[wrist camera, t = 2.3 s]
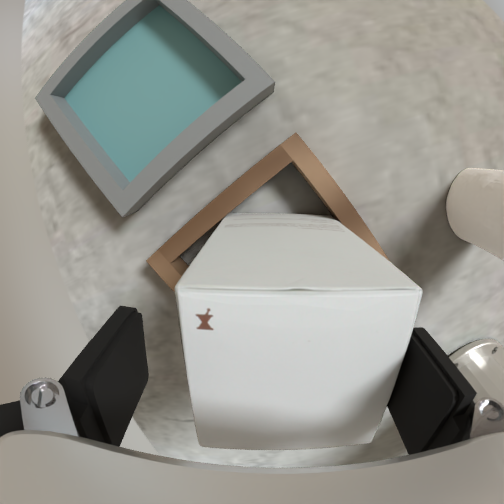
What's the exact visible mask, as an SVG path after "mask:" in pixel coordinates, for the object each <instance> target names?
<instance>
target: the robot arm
mask: <svg viewBox="0 0 504 504" xmlns="http://www.w3.org/2000/svg"><path fill="white" fill-rule="evenodd" d="M147 381H148V366H147V358H146V350H145V341H144V331H143V320H142V314H141V313H138V312H137V309H136V308H132V307H125V306H120V307H118V309H117V310H116V311H115V312H114V313H113V315H112V316H111V317H110V318H109V319H108V320H107V322H106V323H105V324H104V325H103V326H102V328H101V329H100V330H99V331H98V332H97V334H96V335H95V336H94V337H93V339H91V340H90V342H89V343H88V344H87V345H86V347H85V348H84V349H83V350H82V352H81V353H80V354H79V355H78V357H77V358H76V359H75V361H74V362H73V363H72V364H71V365H70V367H69V368H68V369H67V371H66V372H65V373H64V374H63V376H62V377H61V378H60V380H59V381H56V380H53V379H51V378H38V379H34V380H32V381H30V382H28V383H27V384H26V385H25V386H24V387H23V388H22V391H21V392H20V401H16V402H11V403H7V404H3V405H0V504H504V347H503V346H502V345H501V344H500V343H499V342H497V341H496V340H493V339H481V340H478V341H474V342H472V343H470V344H468V345H466V346H464V347H463V348H461V349H459V350H458V351H456V352H455V353H454V354H452V355H451V356H450V357H448V356H447V355H446V353H445V352H444V351H443V350H442V349H441V347H440V346H439V345H438V344H437V343H436V341H435V340H434V339H433V338H432V337H431V336H430V334H429V333H428V332H427V331H426V330H425V329H424V328H413V331H412V334H411V338H410V341H409V344H408V347H407V350H406V353H405V356H404V359H403V362H402V365H401V368H400V370H399V373H398V376H397V380H396V382H395V385H394V388H393V391H392V394H391V396H390V399H389V402H388V404H387V406H388V409H389V411H390V413H391V415H392V417H393V420H394V422H395V424H396V426H397V429H398V431H399V433H400V436H401V438H402V440H403V442H404V445H405V447H406V449H407V452H408V454H409V455H406V456H401V457H396V458H391V459H385V460H379V461H372V462H365V463H357V464H348V465H338V466H325V467H305V468H262V467H241V466H228V465H218V464H209V463H201V462H193V461H187V460H180V459H174V458H169V457H164V456H158V455H153V454H148V453H143V452H139V451H134V450H130V449H126V448H122V447H119V446H120V444H121V442H122V439H123V437H124V434H125V432H126V430H127V427H128V425H129V423H130V420H131V418H132V416H133V413H134V411H135V409H136V406H137V404H138V402H139V399H140V397H141V395H142V393H143V390H144V388H145V386H146V384H147Z"/></svg>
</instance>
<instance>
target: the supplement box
mask: <svg viewBox="0 0 504 504" xmlns="http://www.w3.org/2000/svg"><path fill="white" fill-rule="evenodd" d="M175 296H176V303H177V311H178V319H179V326H180V334H181V341H182V348H183V354H184V361H185V367H186V373H187V379H188V385H189V392H190V398H191V404H192V410H193V415H194V421H195V427H196V432H197V437H198V441H199V445H200V446H202V447H210V448H224V449H245V450H298V449H317V448H330V447H340V446H350V445H358V444H366V443H371V442H372V440H373V438H374V435H375V433H376V431H377V429H378V426H379V424H380V422H381V419H382V417H383V414H384V412H385V409H386V407H387V404H388V402H389V399H390V396H391V394H392V391H393V388H394V385H395V382H396V380H397V376H398V373H399V370H400V368H401V365H402V362H403V359H404V356H405V353H406V350H407V347H408V344H409V341H410V338H411V334H412V331H413V328H414V324H415V320H416V317H417V313H418V309H419V305H420V301H421V298H422V289H421V288H420V287H419V286H418V285H417V284H416V283H414V282H413V281H412V280H411V279H410V278H409V277H408V276H407V275H405V274H404V273H403V272H402V271H400V270H399V269H398V268H397V267H396V266H394V265H393V264H392V263H391V262H390V261H388V260H387V259H386V258H385V257H383V256H382V255H381V254H380V253H378V252H377V251H376V250H375V249H374V248H372V247H371V246H370V245H368V244H367V243H366V242H365V241H363V240H362V239H361V238H359V237H358V236H357V235H355V234H354V233H353V232H352V231H350V230H349V229H348V228H346V227H345V226H344V225H342V224H341V223H340V222H339V221H337V220H336V219H335V218H333V217H332V216H329V215H314V214H281V213H228V214H227V215H226V216H225V217H224V218H223V220H222V221H221V223H220V224H219V225H218V227H217V228H216V229H215V231H214V232H213V233H212V235H211V236H210V237H209V239H208V240H207V242H206V243H205V245H204V246H203V247H202V249H201V250H200V252H199V253H198V254H197V256H196V257H195V258H194V260H193V261H192V263H191V264H190V266H189V267H188V268H187V270H186V271H185V273H184V274H183V275H182V277H181V278H180V280H179V281H178V283H177V284H176V286H175Z"/></svg>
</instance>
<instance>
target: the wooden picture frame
mask: <svg viewBox="0 0 504 504" xmlns="http://www.w3.org/2000/svg"><path fill="white" fill-rule="evenodd" d="M291 162H292V164H293V165H294V166H295V167H296V169H297V170H298V171H299V172H300V174H301V175H302V176H303V177H304V179H305V180H306V181H307V182H308V184H309V185H310V186H311V187H312V189H313V190H314V191H315V193H316V194H317V195H318V196H319V198H320V199H321V200H322V202H323V203H324V204H325V206H326V207H327V208H328V210H329V211H330V212H331V214H332V215H333V216H334V218H335V219H336V220H337V221H339V222H340V223H341V224H342V225H344V226H345V227H346V228H348V229H349V230H350V231H352V232H353V233H354V234H355V235H357V236H358V237H359V238H361V239H362V240H363V241H365V242H366V243H367V244H368V245H370V246H371V247H372V248H374V249H375V250H376V251H377V252H378V253H380V254H381V255H382V256H383V257H385V258H386V259H387V260H388V261H389V259H388V258H387V256H386V254H385V253H384V251H383V250H382V248H381V247H380V245H379V244H378V242H377V241H376V239H375V238H374V236H373V234H372V233H371V231H370V230H369V229H368V227H367V226H366V224H365V223H364V221H363V220H362V218H361V217H360V215H359V214H358V213H357V211H356V210H355V208H354V207H353V205H352V204H351V203H350V201H349V200H348V198H347V197H346V196H345V194H344V193H343V192H342V190H341V189H340V187H339V186H338V185H337V183H336V182H335V181H334V179H333V178H332V177H331V176H330V174H329V173H328V172H327V170H326V169H325V168H324V166H323V165H322V164H321V163H320V161H319V160H318V159H317V157H316V156H315V155H314V154H313V152H312V151H311V150H310V149H309V148H308V146H307V145H306V144H305V143H304V141H303V140H302V139H301V138H300V137H299V135H298V134H297V133H295V134H293V135H292V136H291V137H289V138H288V139H287V140H286V141H284V142H283V143H282V144H280V145H279V146H278V147H277V148H275V149H274V150H273V151H272V152H270V153H269V154H268V155H267V156H265V157H264V158H263V159H262V160H260V161H259V162H258V163H257V164H255V165H254V166H253V167H252V168H251V169H249V170H248V171H247V172H246V173H244V174H243V175H242V176H241V177H240V178H238V179H237V180H236V181H235V182H234V183H232V184H231V185H230V186H229V187H228V188H227V189H225V190H224V191H223V192H222V193H221V194H220V195H218V196H217V197H216V198H215V199H214V200H213V201H211V202H210V203H209V204H208V205H207V206H206V207H205V208H203V209H202V210H201V211H200V212H199V213H198V214H197V215H195V216H194V217H193V218H192V219H191V220H190V221H189V222H188V223H186V224H185V225H184V226H183V227H182V228H181V229H180V230H179V231H178V232H177V233H175V234H174V235H173V236H172V237H171V238H170V239H169V240H168V241H167V242H166V243H165V244H163V245H162V246H161V247H160V248H159V249H158V250H157V251H156V252H155V253H154V254H153V255H152V256H151V257H150V258H149V259H147V260H146V261H147V263H148V264H149V265H150V266H151V267H152V268H153V269H154V270H155V272H156V273H157V274H158V275H159V276H160V277H161V278H162V279H163V280H164V282H165V283H166V284H167V285H168V286H169V287H170V288H171V289H172V290H173V291H174V292H175V286H176V284H177V283H178V281H179V280H180V278H181V277H182V275H183V274H184V273H185V271H186V270H187V268H188V267H189V266H188V265H187V264H186V263H185V262H184V261H183V259H182V258H181V257H180V256H179V255H180V254H182V253H183V252H184V251H185V250H186V249H187V248H188V247H190V246H191V245H192V244H193V243H194V242H195V241H196V240H198V239H199V238H200V237H201V236H202V235H203V234H205V233H206V232H207V231H208V230H209V229H210V228H212V227H213V226H214V225H215V224H216V223H217V222H219V221H220V220H221V219H222V218H223V217H225V216H226V215H227V214H228V213H229V212H230V211H232V210H233V209H234V208H235V207H236V206H238V205H239V204H240V203H241V202H242V201H244V200H245V199H246V198H247V197H249V196H250V195H251V194H252V193H253V192H255V191H256V190H257V189H258V188H260V187H261V186H262V185H263V184H264V183H266V182H267V181H268V180H269V179H271V178H272V177H273V176H274V175H276V174H277V173H278V172H279V171H281V170H282V169H283V168H284V167H286V166H287V165H288V164H289V163H291Z"/></svg>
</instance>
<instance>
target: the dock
mask: <svg viewBox="0 0 504 504" xmlns="http://www.w3.org/2000/svg"><path fill="white" fill-rule="evenodd" d="M274 86H275V81H274V80H273V79H272V78H271V77H270V76H269V75H268V74H267V73H266V72H265V71H264V70H263V69H262V68H261V66H260V65H259V64H258V63H257V62H256V61H255V60H254V59H253V58H252V57H251V56H249V55H248V54H247V53H246V52H245V51H244V50H243V49H242V48H241V47H240V46H239V45H238V44H237V43H236V42H235V41H234V40H233V39H232V38H231V37H229V36H228V35H227V34H226V33H225V32H224V31H223V30H222V29H221V28H220V27H218V26H217V25H216V24H215V23H214V22H213V21H212V20H210V19H209V18H208V17H207V16H206V15H204V14H203V13H202V12H201V11H200V10H198V9H197V8H196V7H195V6H194V5H192V4H191V3H190V2H189V1H187V0H126V1H124V2H123V3H122V4H121V5H120V6H118V7H117V8H116V9H115V10H114V11H113V12H112V13H111V14H109V15H108V16H107V17H106V18H105V19H104V20H103V21H102V22H101V23H100V24H99V25H98V26H97V27H96V28H95V29H94V30H93V31H91V32H90V33H89V35H88V36H87V37H86V38H85V39H84V40H83V41H82V42H81V43H80V44H79V45H78V46H77V47H76V48H75V49H74V50H73V51H72V53H71V54H70V55H69V56H68V57H67V58H66V59H65V60H64V62H63V63H62V64H61V65H60V66H59V68H58V69H57V70H56V71H55V72H54V74H53V75H52V76H51V77H50V79H49V80H48V81H47V83H46V84H45V85H44V86H43V88H42V89H41V90H40V92H39V93H38V95H37V96H36V97H35V99H36V101H37V102H38V104H39V105H40V107H41V108H42V110H43V111H44V113H45V114H46V116H47V117H48V119H49V120H50V122H51V123H52V125H53V126H54V128H55V129H56V130H57V132H58V133H59V135H60V136H61V138H62V139H63V140H64V142H65V143H66V145H67V146H68V147H69V149H70V150H71V152H72V153H73V154H74V156H75V157H76V158H77V160H78V161H79V162H80V164H81V165H82V166H83V168H84V169H85V170H86V172H87V173H88V174H89V176H90V177H91V178H92V180H93V181H94V182H95V184H96V185H97V186H98V187H99V189H100V190H101V191H102V193H103V194H104V195H105V196H106V198H107V199H108V200H109V201H110V203H111V204H112V205H113V206H114V208H115V209H116V210H117V211H118V213H119V214H120V215H121V216H122V217H124V216H127V215H129V214H132V213H134V212H137V211H138V210H139V209H140V208H141V207H142V206H143V205H144V204H145V203H146V202H147V201H148V200H149V199H150V198H151V197H152V196H153V195H154V194H155V193H156V192H157V191H158V190H159V189H160V188H161V187H162V186H163V185H164V184H165V183H166V182H167V181H169V180H170V179H171V178H172V177H173V176H174V175H175V174H176V173H177V172H178V171H179V170H180V169H181V168H182V167H183V166H185V165H186V164H187V163H188V162H189V161H190V160H191V159H192V158H193V157H195V156H196V155H197V154H198V153H199V152H200V151H201V150H202V149H204V148H205V147H206V146H207V145H208V144H209V143H210V142H212V141H213V140H214V139H215V138H216V137H218V136H219V135H220V134H221V133H222V132H223V131H225V130H226V129H227V128H228V127H229V126H231V125H232V124H233V123H234V122H236V121H237V120H238V119H239V118H241V117H242V116H243V115H244V114H246V113H247V112H248V111H249V110H251V109H252V108H253V107H254V106H256V105H257V104H258V103H260V102H261V101H262V100H264V99H265V98H266V97H268V96H269V95H270V94H272V93H273V92H274Z"/></svg>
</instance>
